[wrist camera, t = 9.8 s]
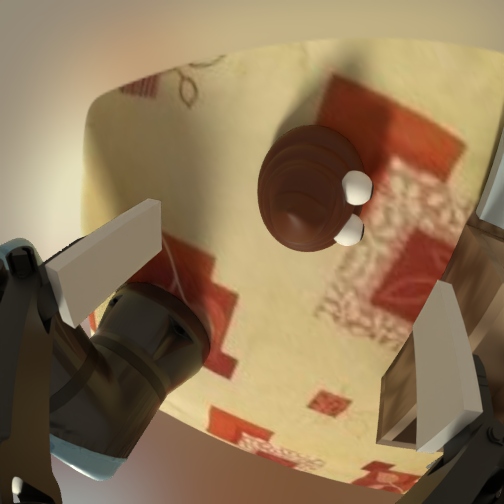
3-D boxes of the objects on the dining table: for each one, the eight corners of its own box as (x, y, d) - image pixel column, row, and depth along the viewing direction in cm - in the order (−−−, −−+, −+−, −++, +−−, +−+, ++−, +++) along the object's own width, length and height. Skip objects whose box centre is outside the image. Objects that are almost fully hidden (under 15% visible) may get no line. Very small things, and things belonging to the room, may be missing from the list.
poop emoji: (270, 117, 23) (222, 130, 15) (378, 135, 21) (390, 157, 13) (261, 228, 28) (219, 286, 20) (354, 249, 26) (347, 318, 18)
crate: (490, 398, 28) (497, 453, 21) (381, 378, 32) (375, 443, 24) (579, 276, 17) (614, 329, 10) (465, 223, 21) (502, 283, 14)
